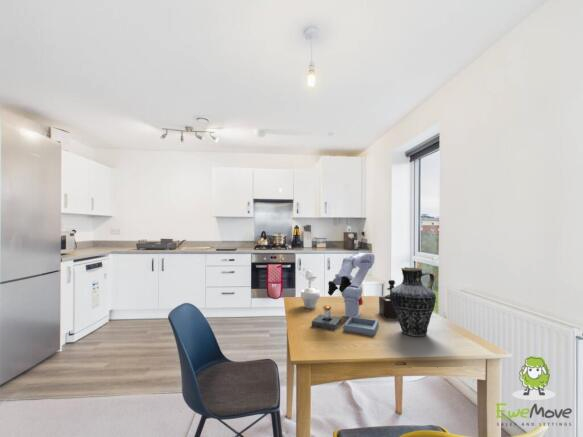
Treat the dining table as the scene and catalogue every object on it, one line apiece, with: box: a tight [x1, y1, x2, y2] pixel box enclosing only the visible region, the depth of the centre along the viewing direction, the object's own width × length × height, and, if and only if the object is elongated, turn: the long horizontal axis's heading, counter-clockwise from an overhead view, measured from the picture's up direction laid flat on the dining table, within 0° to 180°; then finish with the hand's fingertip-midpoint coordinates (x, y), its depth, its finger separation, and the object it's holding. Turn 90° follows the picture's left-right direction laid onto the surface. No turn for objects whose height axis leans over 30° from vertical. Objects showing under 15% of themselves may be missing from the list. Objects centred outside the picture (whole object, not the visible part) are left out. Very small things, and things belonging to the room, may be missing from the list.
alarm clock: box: [358, 296, 364, 305], centre depth 188 cm, size 10×6×15 cm
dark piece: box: [378, 279, 398, 319], centre depth 164 cm, size 16×11×18 cm
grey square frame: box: [311, 313, 343, 331], centre depth 147 cm, size 12×12×2 cm
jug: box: [389, 266, 437, 337], centre depth 136 cm, size 21×19×30 cm
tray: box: [343, 316, 380, 337], centre depth 141 cm, size 14×14×3 cm
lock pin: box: [322, 305, 332, 321], centre depth 147 cm, size 4×4×9 cm
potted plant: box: [299, 268, 321, 309], centre depth 176 cm, size 13×12×25 cm
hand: (334, 292), depth 143 cm, fingers open, 7 cm apart
